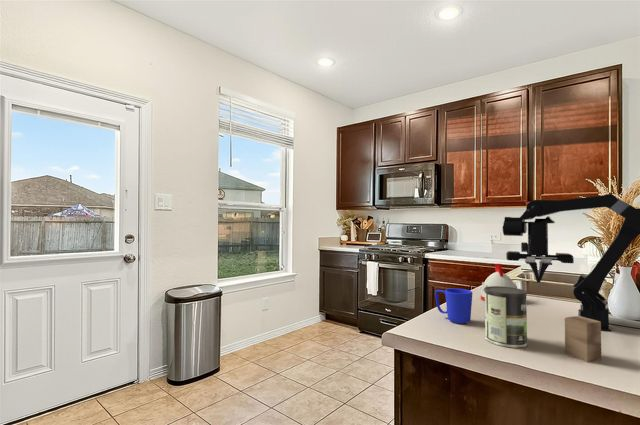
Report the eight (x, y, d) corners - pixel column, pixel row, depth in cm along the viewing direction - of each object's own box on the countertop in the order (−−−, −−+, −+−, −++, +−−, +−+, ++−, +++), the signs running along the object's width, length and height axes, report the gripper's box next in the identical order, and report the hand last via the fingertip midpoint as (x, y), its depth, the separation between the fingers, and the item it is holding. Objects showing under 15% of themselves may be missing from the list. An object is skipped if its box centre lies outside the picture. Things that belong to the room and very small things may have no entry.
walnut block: (579, 351, 83) (578, 315, 84) (601, 359, 79) (600, 321, 79) (565, 353, 82) (564, 317, 82) (587, 362, 77) (586, 323, 77)
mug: (441, 313, 116) (441, 285, 116) (476, 321, 108) (476, 290, 108) (430, 318, 111) (430, 289, 111) (466, 327, 102) (466, 294, 102)
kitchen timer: (512, 297, 141) (511, 262, 141) (524, 305, 127) (523, 267, 128) (477, 295, 144) (476, 261, 144) (485, 303, 130) (485, 266, 131)
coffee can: (527, 338, 92) (526, 288, 93) (528, 351, 83) (527, 295, 84) (486, 332, 98) (485, 284, 98) (483, 343, 89) (482, 291, 89)
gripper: (565, 236, 116) (566, 280, 115) (505, 235, 124) (505, 276, 123) (573, 237, 106) (574, 286, 105) (507, 236, 114) (507, 281, 114)
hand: (538, 282), depth 112 cm, fingers closed
